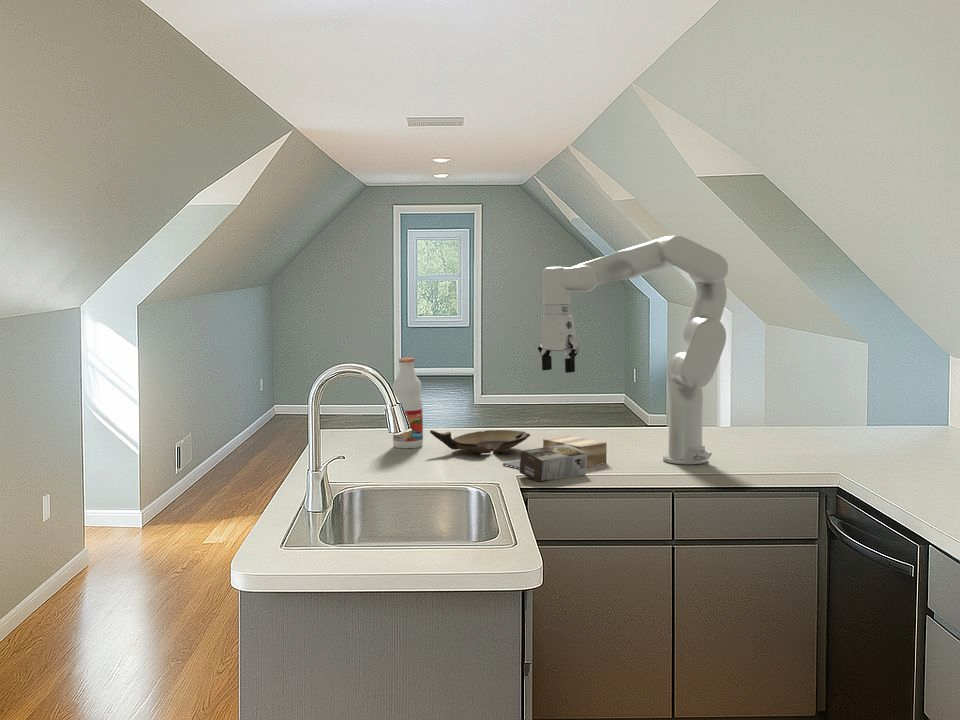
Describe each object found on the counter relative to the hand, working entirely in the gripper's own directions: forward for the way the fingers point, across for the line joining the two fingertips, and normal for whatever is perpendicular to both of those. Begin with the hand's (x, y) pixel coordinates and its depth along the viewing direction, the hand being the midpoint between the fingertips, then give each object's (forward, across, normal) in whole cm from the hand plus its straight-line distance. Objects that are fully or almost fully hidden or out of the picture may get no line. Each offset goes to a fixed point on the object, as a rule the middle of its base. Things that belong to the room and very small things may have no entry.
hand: (558, 371), depth 280 cm
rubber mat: (+27, +1, +6) cm, 27 cm away
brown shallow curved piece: (+27, +31, +5) cm, 41 cm away
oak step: (+27, +1, -6) cm, 28 cm away
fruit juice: (+26, +52, +18) cm, 61 cm away
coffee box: (+23, -11, +4) cm, 26 cm away
